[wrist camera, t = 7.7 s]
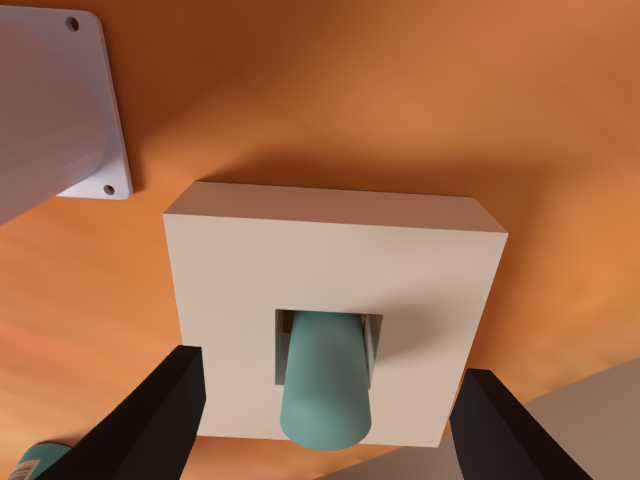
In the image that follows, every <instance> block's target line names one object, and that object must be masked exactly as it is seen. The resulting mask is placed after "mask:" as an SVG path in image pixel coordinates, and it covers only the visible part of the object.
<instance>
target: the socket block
mask: <svg viewBox="0 0 640 480" xmlns="http://www.w3.org/2000/svg"><path fill="white" fill-rule="evenodd" d="M163 219H164V225H165V232H166V238H167V245H168V251H169V257H170V264H171V270H172V277H173V283H174V289H175V296H176V302H177V309H178V315H179V322H180V328H181V334H182V341H183V345H186V346H198V347H202V357H203V367H204V378H205V389H206V403H205V407H204V410H203V414H202V418H201V421H200V425H199V428H198V432H197V436H216V437H237V438H257V439H278V440H290V439H289V438H288V437H287V436H286V435H285V434H284V432H283V431H282V428H281V425H280V414H281V407H282V399H283V392H284V384H285V377H286V369H287V362H288V354H289V347H290V339H291V333H284V332H283V309H286V310H305V311H324V312H342V313H361V314H367V316H366V322H365V329H364V336H363V345H364V354H365V364H366V373H367V383H368V392H369V401H370V411H371V421H372V424H371V429H370V431H369V433H368V434H367V436H366V437H365V438H364V439H363V440H361V441H360V442H359V443H361V444H381V445H402V446H422V447H423V446H424V447H438V445H439V443H440V439H441V437H442V434H443V431H444V427H445V424H446V421H447V418H448V415H449V412H450V409H451V406H452V403H453V400H454V397H455V394H456V391H457V388H458V385H459V382H460V379H461V376H462V373H463V370H464V367H465V364H466V361H467V358H468V355H469V352H470V349H471V346H472V343H473V340H474V337H475V334H476V331H477V328H478V325H479V322H480V319H481V316H482V313H483V310H484V307H485V304H486V301H487V298H488V295H489V292H490V289H491V285H492V282H493V279H494V276H495V273H496V270H497V267H498V264H499V261H500V258H501V255H502V252H503V249H504V246H505V243H506V240H507V237H508V234H509V233H508V232H507V231H506V230H505V229H504V228H503V227H502V226H501V225H500V224H499V223H498V222H497V221H496V220H495V219H494V218H493V217H492V216H491V215H490V214H489V213H488V212H487V211H486V209H485V208H484V207H483V206H482V205H481V204H480V203H479V202H478V201H477V200H476V199H475V198H474V197H457V196H440V195H422V194H405V193H388V192H371V191H354V190H336V189H319V188H302V187H285V186H268V185H251V184H233V183H216V182H199V181H194V182H193V183H192V184H191V185H190V186H189V187H188V188H187V189H186V190H185V191H184V192H183V193H182V194H181V195H180V196H179V197H178V198H177V199H176V200H175V201H174V202H173V203H172V204H171V205H170V207H169V208H168V209H167V210H166V211H165V212H164V213H163Z"/></svg>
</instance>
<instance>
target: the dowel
mask: <svg viewBox="0 0 640 480" xmlns="http://www.w3.org/2000/svg"><path fill="white" fill-rule="evenodd" d="M371 424H372V421H371V411H370V401H369V392H368V383H367V373H366V364H365V354H364V345H363V336H362V326H361V317H360V313H342V312H324V311H305V310H294V317H293V324H292V332H291V339H290V347H289V354H288V362H287V369H286V377H285V384H284V392H283V399H282V407H281V414H280V425H281V428H282V431H283V432H284V434H285V435H286V436H287V437H288V438H289V439H290V440H292V441H293V442H295V443H297V444H299V445H301V446H303V447H306V448H309V449H314V450H322V451H332V450H340V449H344V448H348V447H350V446H353V445H355V444H357V443H359V442H360V441H361V440H363V439H364V438H365V437H366V436H367V434H368V433H369V431H370V429H371Z"/></svg>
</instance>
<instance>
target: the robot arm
mask: <svg viewBox="0 0 640 480" xmlns="http://www.w3.org/2000/svg"><path fill="white" fill-rule="evenodd" d="M73 18H75V19H76V20H77V21H78V24H79V29H78V30H77V31H76V30H75V29H74V28H73V27H72V24H71V20H72V19H73ZM108 185H110V186H112V187H113V188H114V190H115V193H114V192H111V191H110V190H109V188H108ZM132 193H133V186H132V181H131V176H130V170H129V165H128V160H127V154H126V149H125V144H124V139H123V133H122V128H121V123H120V118H119V112H118V107H117V102H116V97H115V91H114V86H113V81H112V76H111V70H110V65H109V60H108V55H107V49H106V44H105V39H104V34H103V28H102V25H101V22H100V20H99V19H98V17H97V16H96V15H95V14H93V13H92V12H88V11H83V10H69V9H53V8H38V7H22V6H7V5H0V226H1V225H3V224H5V223H7V222H9V221H10V220H12V219H14V218H16V217H18V216H20V215H21V214H23V213H25V212H27V211H29V210H30V209H32V208H34V207H36V206H38V205H40V204H41V203H43V202H45V201H47V200H49V199H50V198H52V197H54V196H60V197H78V198H95V199H113V200H126V199H127V198H129V197H130V196H131V195H132ZM205 403H206V389H205V378H204V367H203V357H202V347H198V346H186V345H178V346H177V347H176V348H175V349H174V350H173V351H172V352H171V353H170V354H169V355H168V356H167V357H166V358H165V359H164V360H163V361H162V362H161V363H160V364H159V365H158V366H157V367H156V368H155V369H154V371H153V372H152V373H151V374H150V375H149V376H148V377H147V378H146V379H145V380H144V381H143V382H142V383H141V384H140V385H139V386H138V387H137V388H136V389H135V390H134V391H133V392H132V393H131V394H130V395H129V396H128V397H126V398H125V399H124V400H123V401H122V402H121V403H120V404H119V405H118V406H117V407H116V408H115V409H114V410H113V411H112V412H111V413H110V414H109V415H108V416H107V417H106V418H105V419H103V420H102V421H101V422H100V423H99V424H98V425H97V426H96V427H94V428H93V429H92V430H91V431H90V432H89V433H88V434H87V435H86V436H84V437H83V438H82V439H81V440H80V441H79V442H78V443H77V444H76V445H74V446H73V447H72V448H71V449H70V450H69V451H67V452H66V453H65V454H64V455H63V456H61V457H60V458H59V459H58V460H57V461H55V462H54V463H53V464H52V465H51V466H49V467H48V468H47V469H46V470H45V471H43V472H42V473H41V474H39V475H38V476H37V477H36V478H34V479H33V480H179V479H180V477H181V474H182V472H183V469H184V467H185V464H186V461H187V459H188V456H189V454H190V451H191V449H192V446H193V444H194V441H195V438H196V435H197V432H198V428H199V425H200V421H201V418H202V414H203V410H204V407H205ZM449 419H450V424H451V429H452V435H453V440H454V445H455V449H456V453H457V458H458V462H459V465H460V468H461V471H462V474H463V478H464V480H593V479H592V478H591V477H590V476H589V475H588V474H587V473H586V472H585V471H584V470H583V469H582V468H581V467H580V466H579V465H578V464H577V463H576V462H575V461H574V460H573V459H572V458H571V457H570V456H569V455H568V454H567V453H566V452H565V451H564V450H563V449H562V448H561V447H560V446H559V445H558V443H557V442H556V441H555V440H554V439H553V438H552V437H551V436H550V435H549V434H548V433H547V432H546V431H545V430H544V429H543V428H542V426H541V425H540V424H539V423H538V422H537V421H536V420H535V419H534V418H533V417H532V416H531V414H530V413H529V412H528V411H527V410H526V409H525V408H524V407H523V406H522V405H521V403H520V402H519V401H518V400H517V399H516V398H515V397H514V396H513V395H512V393H511V392H510V391H509V390H508V389H507V388H506V387H505V386H504V385H503V383H502V382H501V381H500V380H499V379H498V378H497V377H496V376H495V375H494V374H493V373H492V372H491V371H490V370H483V369H471V368H468V369H467V371H466V374H465V377H464V380H463V382H462V385H461V388H460V391H459V393H458V396H457V399H456V402H455V405H454V407H453V410H452V413H451V416H450V418H449Z"/></svg>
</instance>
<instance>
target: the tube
mask: <svg viewBox="0 0 640 480" xmlns="http://www.w3.org/2000/svg"><path fill="white" fill-rule="evenodd" d="M70 449H71V447H68V446H64V445H60V444H55V443H45V444H39V445H35V446H33V447H31V448H29V449H28V450H27V452H26V453H25V454H24V456H23V457H22V458H21V460H20V461H19V463H18V464H17V466H16V467H15V469H14V470H13V472H12V473H11V475H10V476H9V478H8V479H7V480H33V479H34V478H36V477H37V476H38V475H39V474H41V473H42V472H43V471H45V470H46V469H47V468H48V467H49V466H51V465H52V464H53V463H54V462H55V461H57V460H58V459H59V458H60V457H61V456H63V455H64V454H65V453H66V452H67V451H69V450H70Z"/></svg>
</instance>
